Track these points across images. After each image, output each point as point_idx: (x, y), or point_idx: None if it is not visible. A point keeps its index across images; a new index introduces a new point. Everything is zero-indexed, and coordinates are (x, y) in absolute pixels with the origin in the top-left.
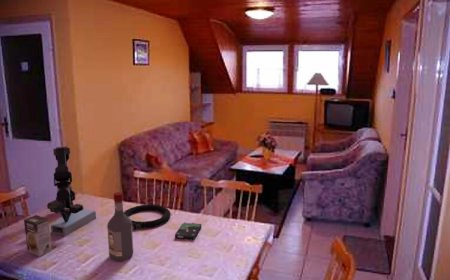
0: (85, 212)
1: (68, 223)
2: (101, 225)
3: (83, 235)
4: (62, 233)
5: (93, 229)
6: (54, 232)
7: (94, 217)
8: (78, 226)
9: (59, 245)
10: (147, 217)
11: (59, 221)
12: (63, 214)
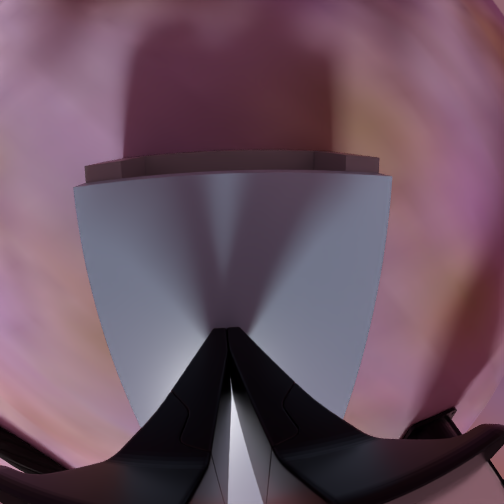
0: (230, 494)
1: (143, 313)
2: (68, 416)
3: (10, 260)
4: (169, 169)
5: (47, 365)
6: (290, 150)
7: None
8: None
9: (49, 20)
10: (23, 472)
11: (344, 306)
12: (265, 438)
